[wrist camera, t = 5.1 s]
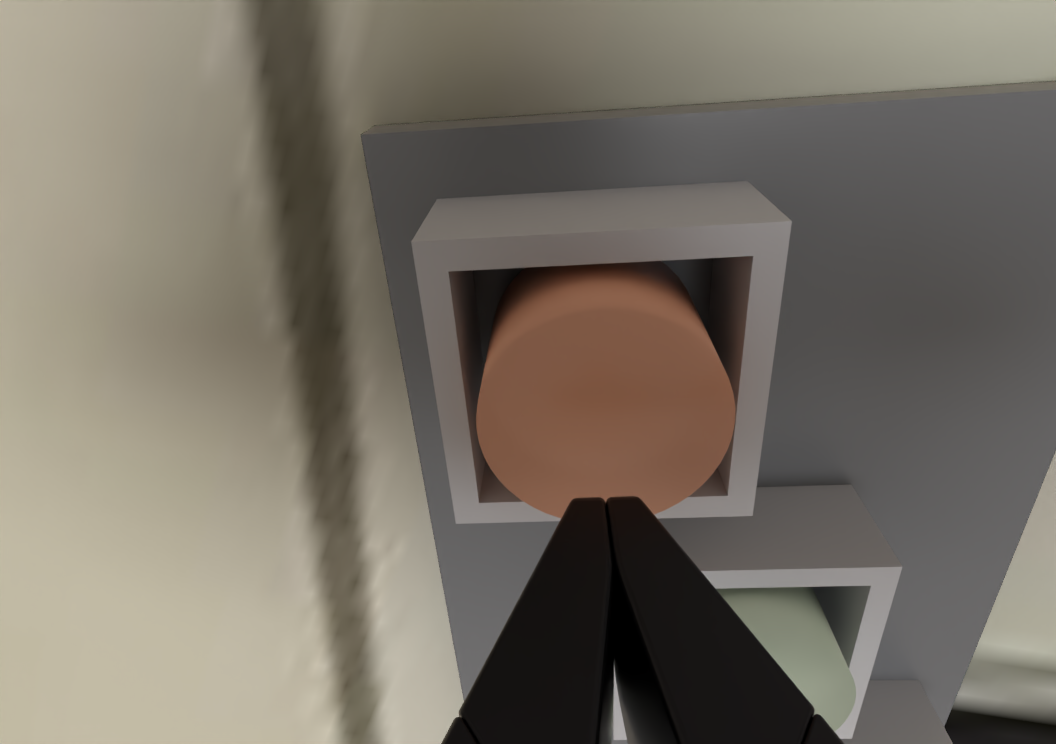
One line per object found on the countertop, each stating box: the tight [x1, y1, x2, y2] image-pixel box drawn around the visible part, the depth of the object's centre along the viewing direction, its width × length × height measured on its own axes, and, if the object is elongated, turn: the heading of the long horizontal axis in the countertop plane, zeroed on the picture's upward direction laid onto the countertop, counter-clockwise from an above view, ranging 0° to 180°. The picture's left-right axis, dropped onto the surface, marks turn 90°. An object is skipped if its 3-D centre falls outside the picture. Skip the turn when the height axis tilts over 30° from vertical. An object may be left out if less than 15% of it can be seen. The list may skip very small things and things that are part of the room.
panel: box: [361, 81, 1056, 744], centre depth 16 cm, size 14×22×4 cm, turn 4°
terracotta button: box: [476, 261, 735, 518], centre depth 11 cm, size 4×4×3 cm
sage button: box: [716, 587, 856, 732], centre depth 15 cm, size 4×4×3 cm
